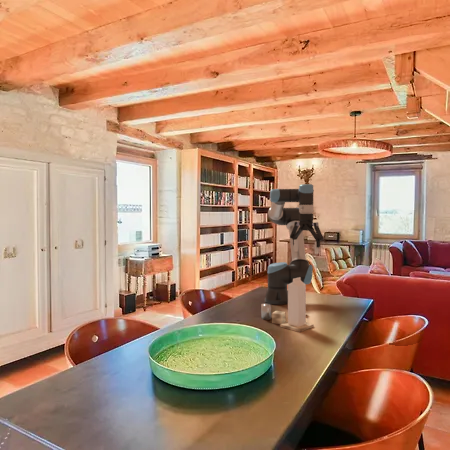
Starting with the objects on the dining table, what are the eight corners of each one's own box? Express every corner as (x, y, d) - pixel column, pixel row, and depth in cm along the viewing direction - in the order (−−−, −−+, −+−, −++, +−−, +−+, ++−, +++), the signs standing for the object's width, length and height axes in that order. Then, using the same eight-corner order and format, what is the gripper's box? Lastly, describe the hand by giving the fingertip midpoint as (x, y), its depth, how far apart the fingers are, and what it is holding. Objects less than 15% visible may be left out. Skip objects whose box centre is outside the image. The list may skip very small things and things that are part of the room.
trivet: (280, 326, 175) (280, 324, 175) (294, 321, 183) (294, 319, 183) (299, 332, 167) (299, 329, 167) (313, 326, 175) (313, 324, 175)
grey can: (259, 318, 190) (259, 304, 190) (265, 316, 193) (265, 302, 193) (266, 320, 186) (266, 306, 186) (273, 318, 190) (273, 304, 189)
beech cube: (271, 323, 182) (271, 312, 182) (276, 320, 186) (276, 310, 186) (281, 324, 179) (281, 314, 179) (285, 322, 183) (285, 312, 183)
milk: (305, 324, 175) (306, 277, 174) (298, 327, 171) (298, 279, 170) (295, 321, 179) (295, 276, 179) (287, 324, 175) (287, 277, 174)
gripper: (283, 213, 206) (283, 251, 207) (322, 213, 188) (321, 255, 189) (292, 212, 211) (292, 249, 212) (330, 213, 193) (330, 253, 194)
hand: (306, 252), depth 201 cm, fingers open, 13 cm apart
